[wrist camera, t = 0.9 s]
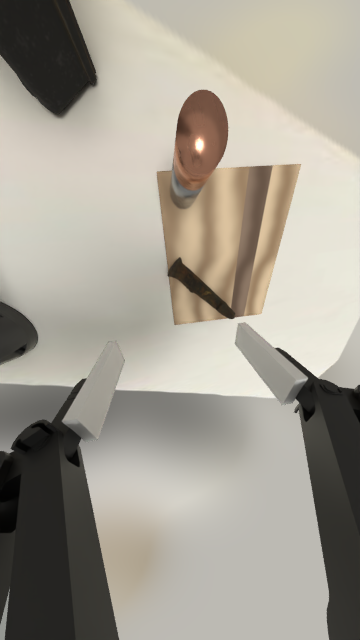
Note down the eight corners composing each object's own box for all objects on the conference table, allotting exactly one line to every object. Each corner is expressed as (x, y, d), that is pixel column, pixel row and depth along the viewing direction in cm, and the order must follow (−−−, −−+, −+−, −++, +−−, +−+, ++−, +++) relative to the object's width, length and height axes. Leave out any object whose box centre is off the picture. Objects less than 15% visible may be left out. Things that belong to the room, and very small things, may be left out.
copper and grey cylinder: (171, 210, 22) (179, 174, 12) (168, 173, 20) (174, 90, 9) (196, 208, 22) (225, 172, 12) (196, 172, 20) (231, 89, 10)
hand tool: (165, 271, 27) (166, 275, 23) (178, 255, 26) (180, 257, 22) (220, 319, 34) (228, 329, 30) (232, 309, 33) (241, 317, 29)
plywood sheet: (174, 324, 34) (174, 324, 33) (156, 172, 20) (156, 171, 20) (260, 313, 35) (261, 313, 35) (300, 164, 21) (301, 164, 21)
